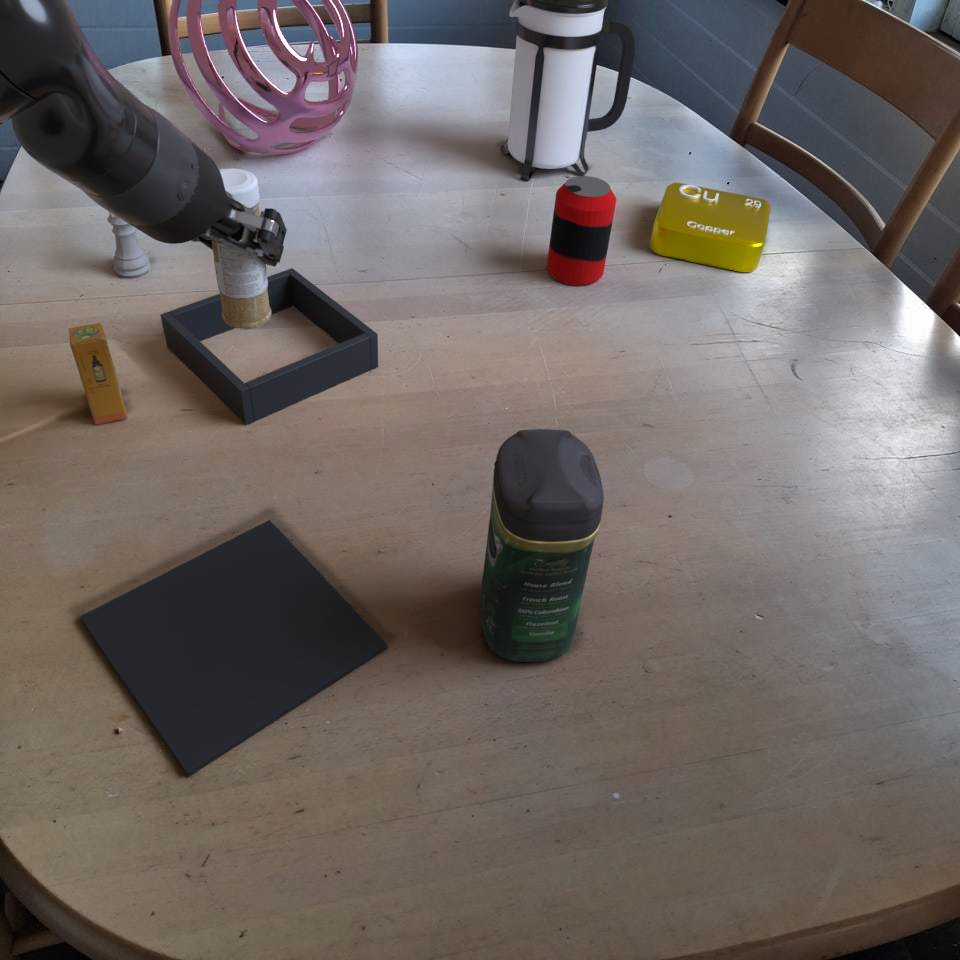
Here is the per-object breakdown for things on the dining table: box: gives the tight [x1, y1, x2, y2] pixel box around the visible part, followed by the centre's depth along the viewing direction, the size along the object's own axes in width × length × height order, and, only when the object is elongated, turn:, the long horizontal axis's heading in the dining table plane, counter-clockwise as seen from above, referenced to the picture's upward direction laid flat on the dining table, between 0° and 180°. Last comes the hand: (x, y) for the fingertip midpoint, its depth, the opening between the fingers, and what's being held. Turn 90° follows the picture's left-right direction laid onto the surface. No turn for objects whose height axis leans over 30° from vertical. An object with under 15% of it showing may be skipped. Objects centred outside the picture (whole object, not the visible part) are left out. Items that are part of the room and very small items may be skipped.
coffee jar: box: [479, 428, 605, 663], centre depth 71 cm, size 10×8×19 cm
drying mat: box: [79, 519, 389, 778], centre depth 74 cm, size 18×18×1 cm
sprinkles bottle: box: [212, 168, 272, 330], centre depth 79 cm, size 5×5×13 cm
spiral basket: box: [167, 0, 359, 155], centre depth 135 cm, size 28×28×27 cm
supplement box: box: [68, 322, 128, 426], centre depth 90 cm, size 3×3×10 cm
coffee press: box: [499, 0, 636, 182], centre depth 134 cm, size 17×16×30 cm
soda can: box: [546, 175, 617, 287], centre depth 116 cm, size 8×8×12 cm
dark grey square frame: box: [160, 267, 379, 426], centre depth 101 cm, size 17×17×4 cm
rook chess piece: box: [107, 211, 152, 279], centre depth 111 cm, size 4×4×8 cm
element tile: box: [649, 182, 772, 273], centre depth 127 cm, size 15×15×5 cm
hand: (250, 248), depth 80 cm, fingers closed on sprinkles bottle, 4 cm apart
